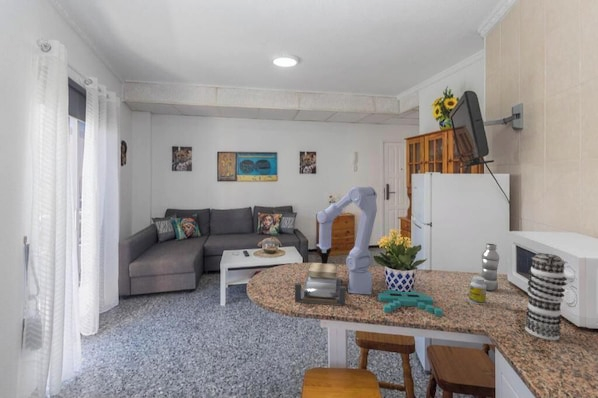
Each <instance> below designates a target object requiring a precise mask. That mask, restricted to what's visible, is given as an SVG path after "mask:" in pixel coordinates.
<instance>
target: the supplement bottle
mask: <svg viewBox="0 0 598 398" xmlns="http://www.w3.org/2000/svg"><path fill="white" fill-rule="evenodd" d="M484 282H485V279H484V278H483V277H481V276H480V275H479V276H478V275H475V276H472V281H471V282H470V285H469V297H468V299H469V302H470V303H473V304H476V305H479V304H480V305H482V304H483V305H485V304H486V300H487V299H486V297H487V290H486V285H485V284H484ZM480 305H479V306H480Z"/></svg>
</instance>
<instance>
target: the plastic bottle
mask: <svg viewBox="0 0 598 398" xmlns="http://www.w3.org/2000/svg"><path fill="white" fill-rule="evenodd" d="M497 250H498V249H497V244H496V243H486V245H485V250H484V251H483V252H482V253H481V264H482V265H481V266H482V267H481V270H482V271H481V276H480V277H483V278H484V279H485V282H484V284H485V285H486V291H493V292H494V291H496V290H497V289H498V288H499V283H498V267H499V261H500V255H499V253H498V252H497Z"/></svg>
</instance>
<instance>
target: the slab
mask: <svg viewBox="0 0 598 398" xmlns="http://www.w3.org/2000/svg"><path fill="white" fill-rule="evenodd" d="M337 275H338V264H337V263H335V264H334V263H327V264H323V263H322V262H311V263H310V267H309V268H308V277H321V278H338V276H337Z"/></svg>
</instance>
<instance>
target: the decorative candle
mask: <svg viewBox="0 0 598 398" xmlns="http://www.w3.org/2000/svg"><path fill="white" fill-rule="evenodd" d="M530 258H531V259H532V260H531V264H532V265H531V267H530V269H529V270H527V273H528V274H529V275H528V277H527V279H528V281H527V285H528V287H527V290H528V292H527V295H528V296H529V297H528V302H527V307H526V312H525V315H526V316H525V322H524V323H525V327H524V329H525V331H526V332H527V333H529V334H530V335H532V336H534V337H537V338H540V339H544V340H547V341H557V340H559V339H560V338H561V337H560V335H561V329H562V328H561V325H560V324H562V320H561V319H562V314H561V313H562V309H561V306H562V305H561V304H562V303H563V301H564V297H565V295H564V292H566V289H565V288H563V287H564V286H567V283H566V282H565V281H567V280H568V278H567V277H565V271H564V270H565V264H566V261H564V260H563V259H562V257H560V256H559V255H555V254H552V253H545V252H543V253H542V252H540V253H539V252H538V253H536V254H535V255H534V256H531V257H530Z"/></svg>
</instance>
